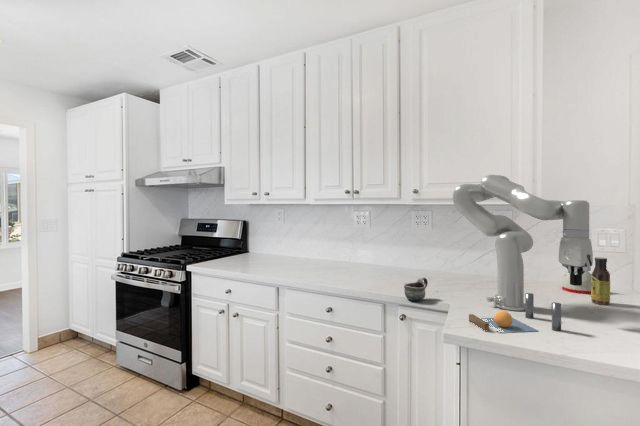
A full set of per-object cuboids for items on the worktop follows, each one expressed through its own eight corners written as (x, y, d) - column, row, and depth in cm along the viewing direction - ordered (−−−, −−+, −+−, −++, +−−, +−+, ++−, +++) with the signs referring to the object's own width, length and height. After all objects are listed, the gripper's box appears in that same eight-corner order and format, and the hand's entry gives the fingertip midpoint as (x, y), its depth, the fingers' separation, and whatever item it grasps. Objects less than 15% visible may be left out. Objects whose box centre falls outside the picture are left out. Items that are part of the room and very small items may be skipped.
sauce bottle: (591, 300, 145) (591, 256, 144) (609, 303, 141) (609, 257, 140) (591, 303, 139) (591, 257, 139) (610, 306, 135) (610, 259, 135)
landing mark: (499, 333, 108) (499, 332, 108) (475, 318, 122) (475, 318, 122) (538, 331, 109) (538, 330, 109) (510, 317, 123) (510, 317, 123)
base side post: (528, 318, 122) (528, 294, 121) (523, 316, 124) (523, 293, 124) (535, 318, 122) (535, 294, 122) (530, 316, 124) (530, 292, 124)
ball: (499, 315, 110) (513, 310, 111) (488, 311, 116) (502, 307, 117) (503, 331, 110) (518, 326, 111) (493, 327, 116) (507, 322, 116)
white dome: (561, 286, 171) (561, 258, 171) (595, 289, 163) (595, 260, 163) (562, 292, 160) (562, 261, 160) (599, 296, 152) (599, 264, 152)
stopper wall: (484, 331, 110) (484, 323, 110) (468, 321, 120) (468, 314, 120) (488, 331, 110) (488, 323, 110) (472, 320, 120) (472, 314, 120)
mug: (399, 300, 148) (399, 278, 148) (414, 295, 157) (414, 274, 156) (418, 304, 141) (418, 281, 141) (433, 299, 149) (433, 277, 149)
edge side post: (556, 331, 109) (556, 304, 109) (549, 328, 111) (549, 302, 111) (563, 331, 109) (563, 304, 109) (557, 328, 112) (557, 302, 112)
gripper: (549, 233, 124) (549, 280, 125) (584, 236, 110) (584, 290, 110) (568, 232, 125) (568, 280, 125) (605, 236, 110) (605, 289, 110)
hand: (575, 284), depth 117 cm, fingers closed
